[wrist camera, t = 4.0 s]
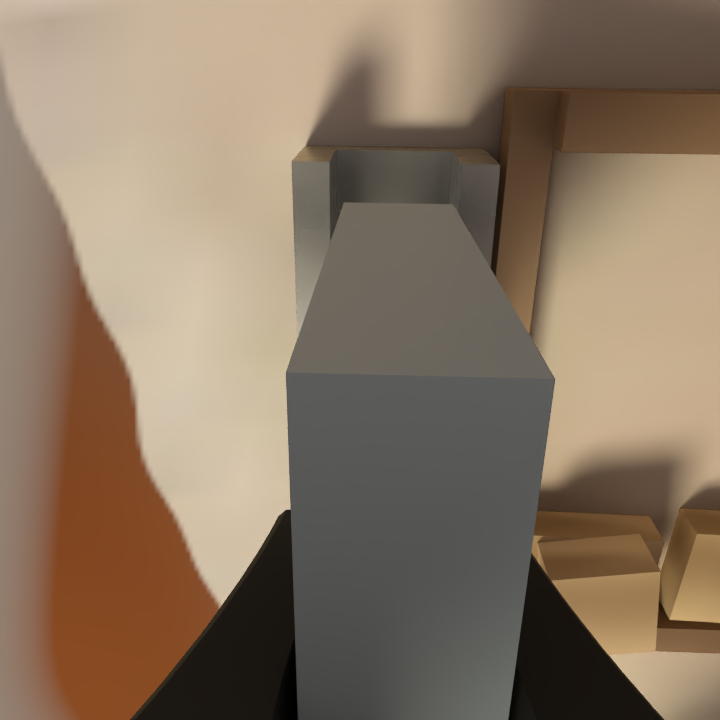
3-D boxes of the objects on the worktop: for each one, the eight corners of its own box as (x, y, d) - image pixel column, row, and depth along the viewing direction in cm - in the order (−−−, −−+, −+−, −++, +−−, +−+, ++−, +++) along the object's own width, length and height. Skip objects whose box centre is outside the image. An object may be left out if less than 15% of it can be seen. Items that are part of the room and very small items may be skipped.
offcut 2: (636, 609, 21) (655, 651, 19) (539, 617, 21) (551, 658, 20) (639, 533, 20) (660, 571, 18) (537, 542, 20) (549, 580, 18)
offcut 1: (623, 589, 22) (640, 626, 21) (500, 583, 23) (508, 619, 21) (644, 508, 21) (664, 541, 20) (512, 501, 21) (522, 534, 20)
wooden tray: (815, 628, 22) (887, 722, 19) (455, 616, 23) (466, 707, 19) (1034, 94, 15) (1205, 104, 12) (505, 87, 16) (536, 95, 12)
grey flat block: (452, 204, 11) (555, 379, 4) (428, 588, 14) (466, 1022, 7) (343, 202, 11) (287, 371, 4) (343, 584, 14) (308, 1014, 8)
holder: (456, 458, 20) (466, 512, 18) (312, 454, 20) (302, 507, 18) (483, 149, 16) (500, 164, 14) (305, 146, 16) (292, 161, 14)
